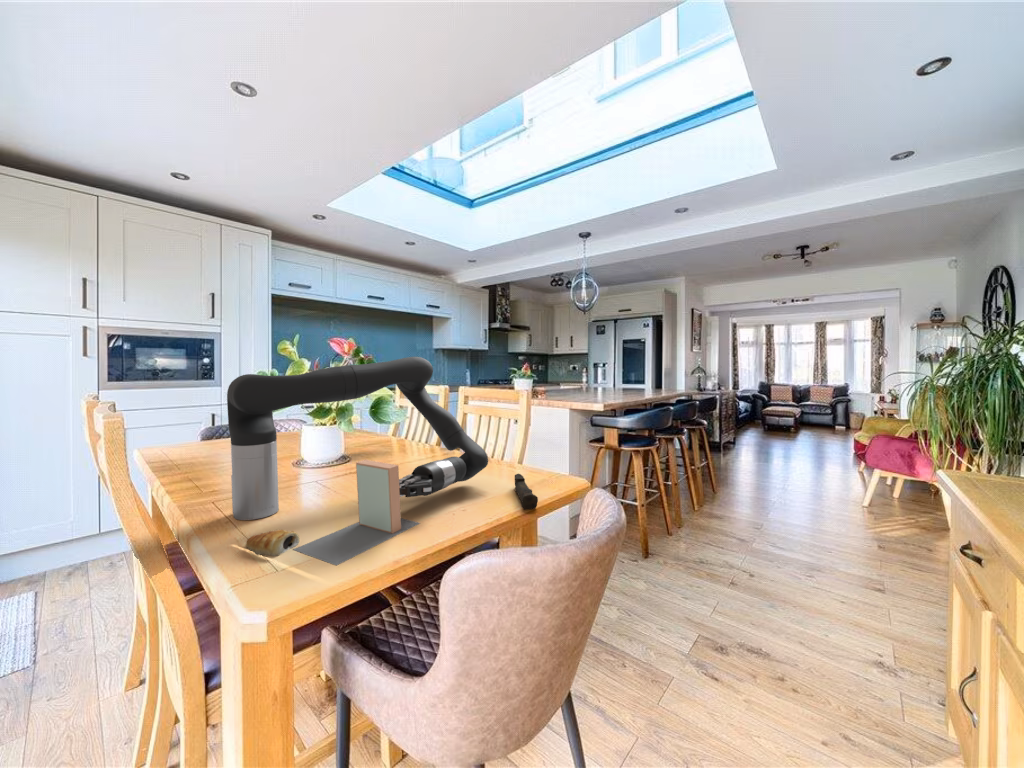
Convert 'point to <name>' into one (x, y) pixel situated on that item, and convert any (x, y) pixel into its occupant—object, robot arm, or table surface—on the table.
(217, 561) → the table surface
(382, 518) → the tile
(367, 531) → the mat
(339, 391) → the robot arm
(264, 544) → the pastry
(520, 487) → the hand tool
